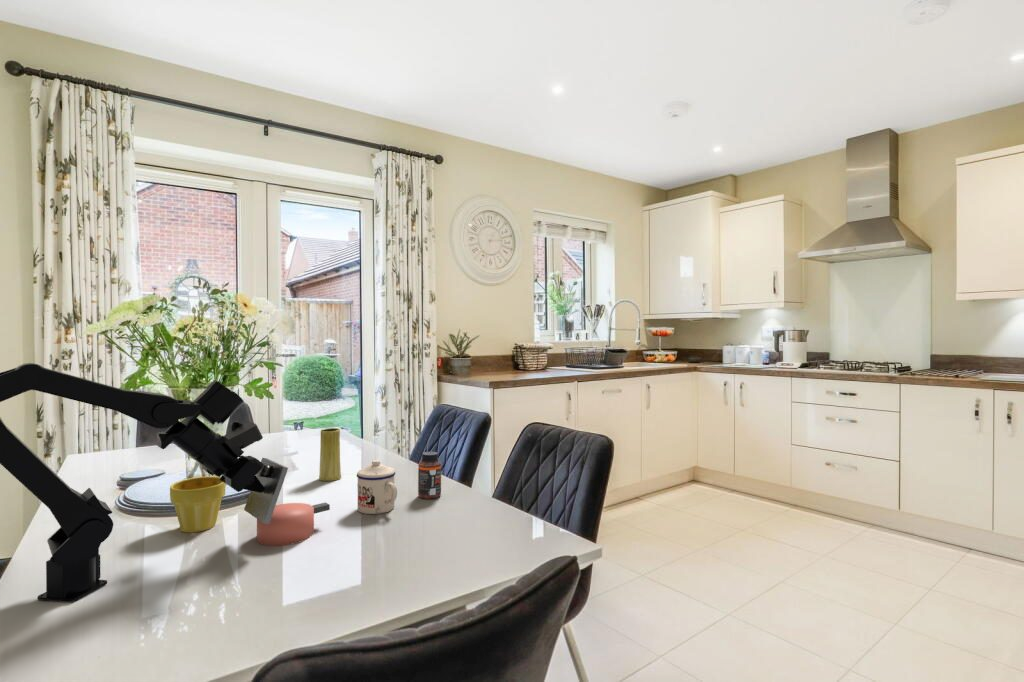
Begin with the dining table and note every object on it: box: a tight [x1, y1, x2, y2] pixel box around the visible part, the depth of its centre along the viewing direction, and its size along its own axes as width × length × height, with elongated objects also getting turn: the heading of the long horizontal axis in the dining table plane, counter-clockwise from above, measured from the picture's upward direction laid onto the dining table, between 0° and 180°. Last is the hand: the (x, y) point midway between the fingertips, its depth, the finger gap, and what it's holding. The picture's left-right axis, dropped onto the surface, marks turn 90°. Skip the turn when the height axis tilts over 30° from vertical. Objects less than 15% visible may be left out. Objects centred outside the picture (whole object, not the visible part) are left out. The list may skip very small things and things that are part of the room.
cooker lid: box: [244, 457, 289, 524], centre depth 107 cm, size 11×11×3 cm
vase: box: [318, 427, 342, 482], centre depth 153 cm, size 6×6×14 cm
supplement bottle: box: [417, 451, 442, 500], centre depth 138 cm, size 6×6×11 cm
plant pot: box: [169, 475, 227, 533], centre depth 115 cm, size 10×10×10 cm
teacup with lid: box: [356, 459, 398, 515], centre depth 127 cm, size 12×9×12 cm
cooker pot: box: [256, 502, 331, 547], centre depth 112 cm, size 15×11×5 cm
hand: (262, 490), depth 107 cm, fingers closed, pressing on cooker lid
